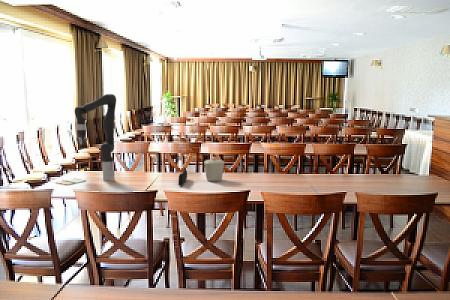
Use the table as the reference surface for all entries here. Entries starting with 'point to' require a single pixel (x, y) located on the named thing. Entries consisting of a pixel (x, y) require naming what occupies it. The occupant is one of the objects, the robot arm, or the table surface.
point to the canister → (214, 169)
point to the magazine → (182, 177)
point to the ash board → (65, 182)
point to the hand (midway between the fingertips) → (82, 148)
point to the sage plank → (76, 180)
